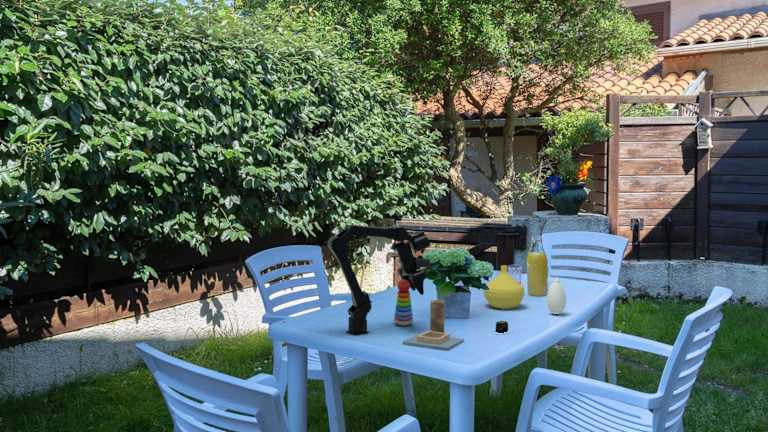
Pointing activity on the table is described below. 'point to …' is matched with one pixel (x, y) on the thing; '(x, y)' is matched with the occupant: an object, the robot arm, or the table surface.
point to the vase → (504, 291)
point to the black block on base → (501, 326)
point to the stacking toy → (403, 305)
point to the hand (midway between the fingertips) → (418, 292)
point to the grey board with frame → (434, 340)
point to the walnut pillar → (437, 316)
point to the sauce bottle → (556, 297)
